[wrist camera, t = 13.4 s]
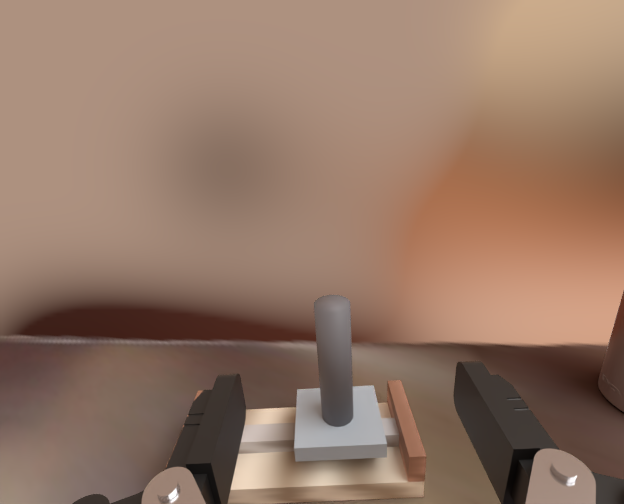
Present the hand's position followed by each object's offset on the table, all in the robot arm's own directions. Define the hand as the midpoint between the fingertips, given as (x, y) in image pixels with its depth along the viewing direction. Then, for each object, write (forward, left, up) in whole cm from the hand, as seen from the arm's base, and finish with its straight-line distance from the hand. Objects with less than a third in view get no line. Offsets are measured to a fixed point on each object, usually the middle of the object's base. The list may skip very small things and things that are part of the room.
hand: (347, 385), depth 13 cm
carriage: (0, -15, -20) cm, 25 cm away
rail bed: (+4, -15, -23) cm, 27 cm away
